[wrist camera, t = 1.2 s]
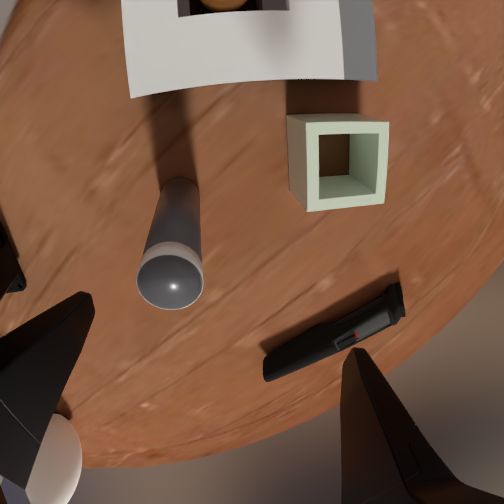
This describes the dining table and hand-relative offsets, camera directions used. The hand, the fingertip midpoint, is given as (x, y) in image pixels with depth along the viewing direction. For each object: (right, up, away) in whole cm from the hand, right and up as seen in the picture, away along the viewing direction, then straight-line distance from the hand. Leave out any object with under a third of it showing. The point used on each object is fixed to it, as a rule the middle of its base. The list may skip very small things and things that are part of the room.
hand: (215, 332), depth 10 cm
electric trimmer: (+9, -4, +20) cm, 22 cm away
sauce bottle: (-24, -19, +22) cm, 38 cm away
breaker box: (+1, +18, +5) cm, 19 cm away
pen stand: (+6, +10, +11) cm, 16 cm away
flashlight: (-4, +6, +11) cm, 13 cm away
